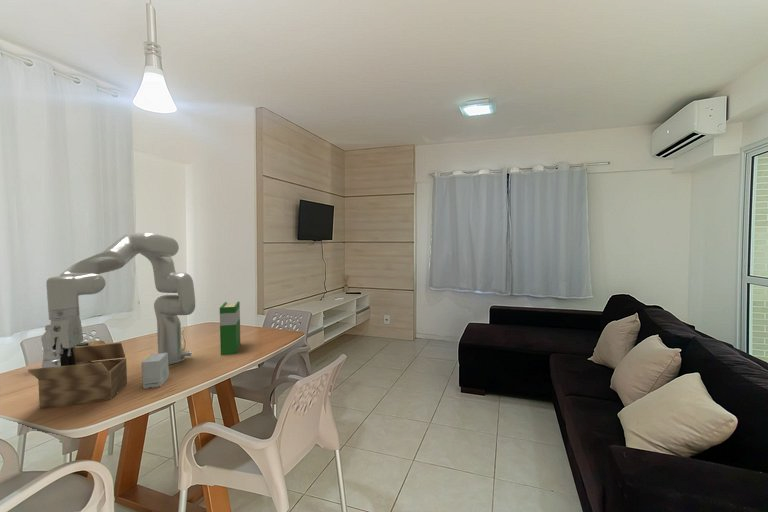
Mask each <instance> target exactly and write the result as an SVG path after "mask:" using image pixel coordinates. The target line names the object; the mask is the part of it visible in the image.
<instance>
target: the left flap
mask: <svg viewBox="0 0 768 512" xmlns="http://www.w3.org/2000/svg"><path fill="white" fill-rule="evenodd" d="M27 371H28V373H30V374H31V376H34V377H35V379H37V380H47V379H56V378H65V377H74V376H83V375H92V374H101V373H108V372H109V371H108V370H107V369H106V367H105V366H104V365H103V364H102V362H97V363H87V364H77V365H68V366H58V367H48V368H42V367H40V368H39V367H38V368H30V369H27Z"/></svg>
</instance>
